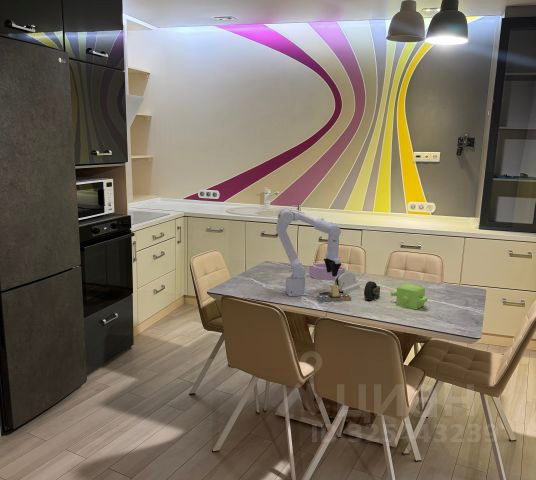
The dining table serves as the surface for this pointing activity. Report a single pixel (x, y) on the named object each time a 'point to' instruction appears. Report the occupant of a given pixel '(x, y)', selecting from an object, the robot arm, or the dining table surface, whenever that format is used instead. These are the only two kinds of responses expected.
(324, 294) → the gray square frame
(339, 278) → the off-white striped device
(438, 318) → the dining table surface
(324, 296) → the chain end left
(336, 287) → the pin
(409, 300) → the gearbox
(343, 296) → the chain end right
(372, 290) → the caster wheel
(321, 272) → the purple oblong basket
